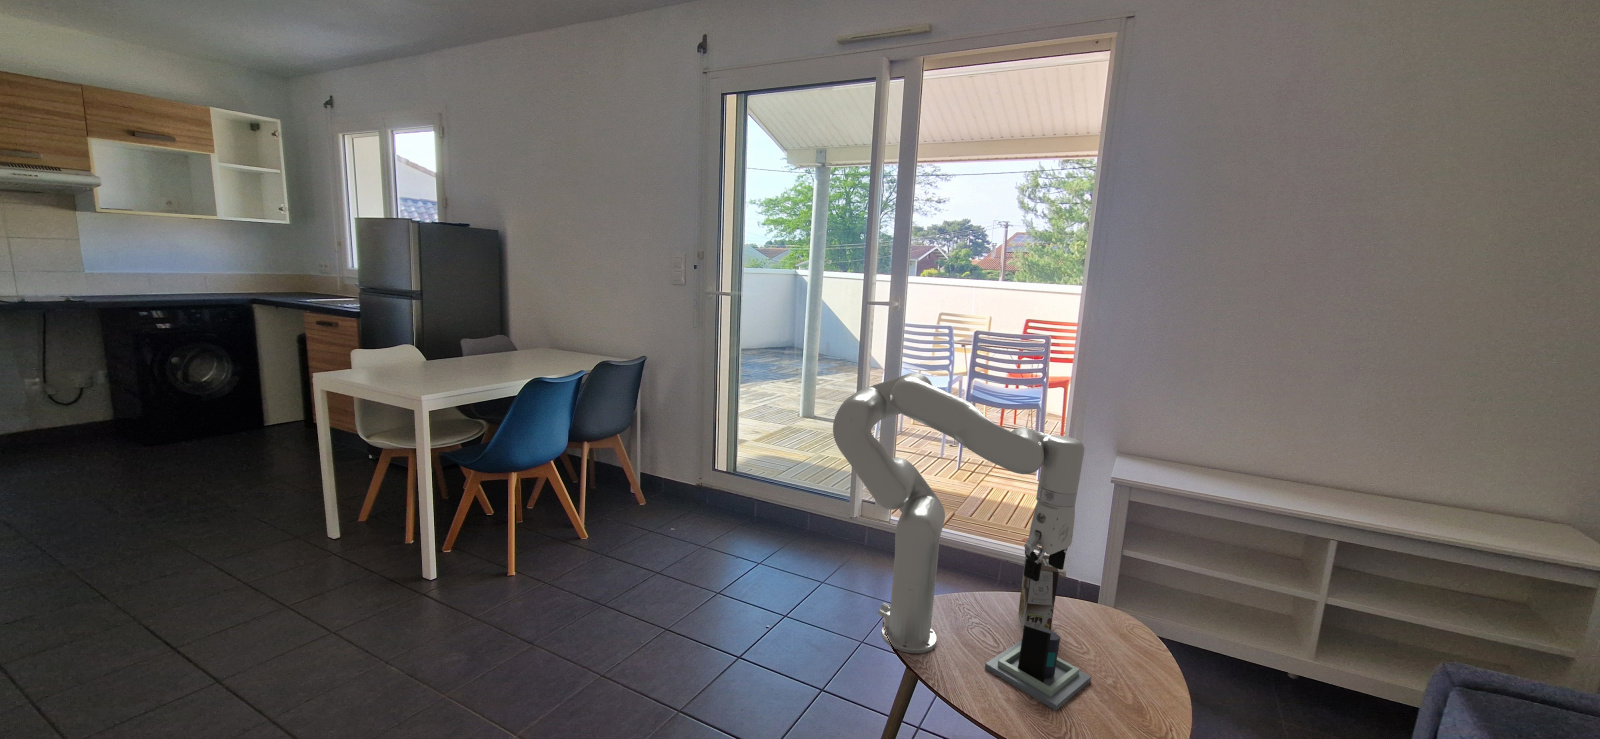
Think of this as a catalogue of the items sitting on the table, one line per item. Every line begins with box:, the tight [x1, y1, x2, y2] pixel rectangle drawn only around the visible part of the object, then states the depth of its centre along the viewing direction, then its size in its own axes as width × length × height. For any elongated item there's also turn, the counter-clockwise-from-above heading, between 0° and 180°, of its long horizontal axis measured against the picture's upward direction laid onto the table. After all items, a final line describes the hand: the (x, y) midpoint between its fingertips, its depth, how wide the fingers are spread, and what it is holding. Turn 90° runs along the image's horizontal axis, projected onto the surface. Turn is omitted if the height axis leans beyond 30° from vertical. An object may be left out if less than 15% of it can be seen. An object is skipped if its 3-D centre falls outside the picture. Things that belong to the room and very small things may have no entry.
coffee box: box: [1018, 554, 1060, 631], centre depth 150 cm, size 9×6×16 cm
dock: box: [984, 639, 1092, 711], centre depth 131 cm, size 16×15×2 cm
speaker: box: [1018, 625, 1061, 682], centre depth 130 cm, size 8×6×10 cm
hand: (1043, 572), depth 130 cm, fingers open, 9 cm apart
